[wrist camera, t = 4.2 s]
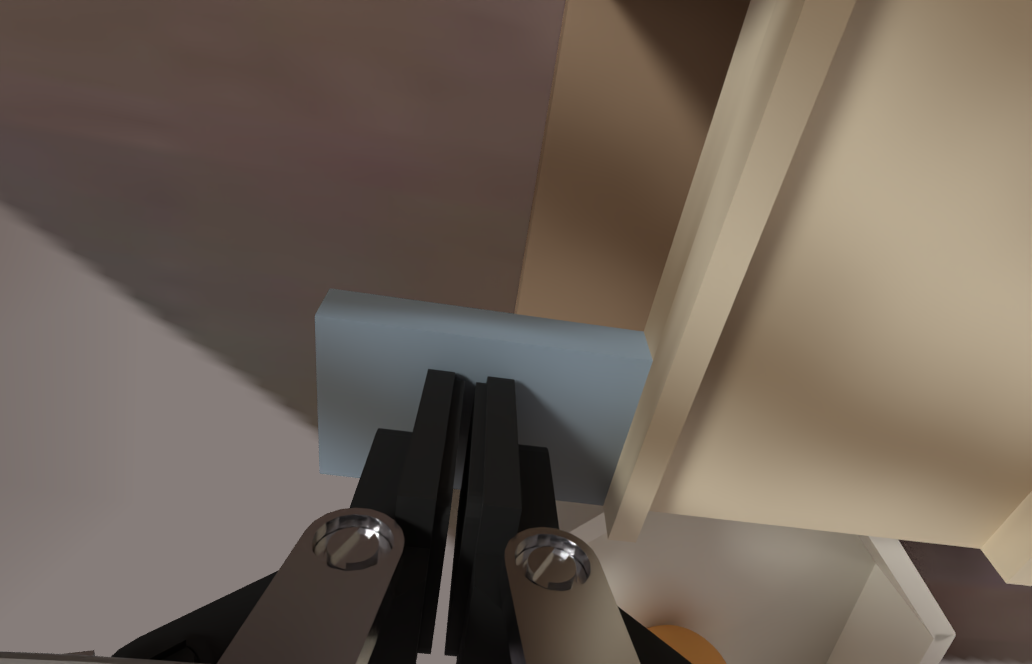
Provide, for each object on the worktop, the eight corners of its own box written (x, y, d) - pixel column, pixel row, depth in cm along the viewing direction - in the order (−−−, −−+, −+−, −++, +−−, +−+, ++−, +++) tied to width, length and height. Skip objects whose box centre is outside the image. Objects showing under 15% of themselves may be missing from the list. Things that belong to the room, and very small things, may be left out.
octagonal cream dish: (496, 382, 19) (495, 456, 15) (930, 437, 20) (1028, 519, 16) (446, 698, 24) (436, 809, 20) (788, 728, 25) (837, 839, 22)
